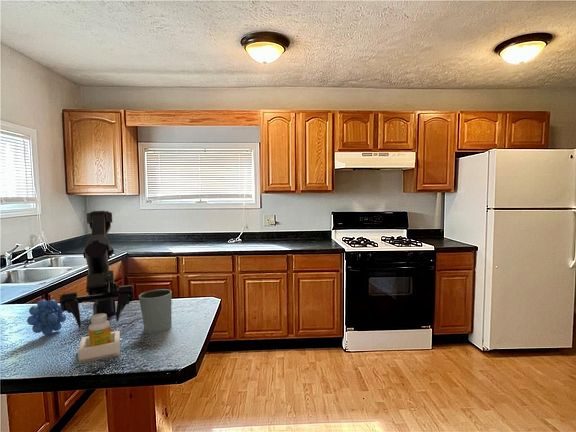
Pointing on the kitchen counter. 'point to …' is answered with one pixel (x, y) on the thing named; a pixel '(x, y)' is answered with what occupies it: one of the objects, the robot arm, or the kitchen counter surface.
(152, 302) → the grey green cup
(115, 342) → the cream square tray
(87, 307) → the kitchen counter surface
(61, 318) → the grapes
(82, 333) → the kitchen counter surface
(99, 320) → the supplement bottle
